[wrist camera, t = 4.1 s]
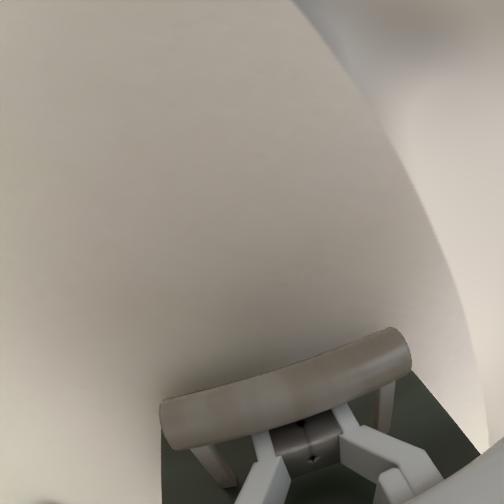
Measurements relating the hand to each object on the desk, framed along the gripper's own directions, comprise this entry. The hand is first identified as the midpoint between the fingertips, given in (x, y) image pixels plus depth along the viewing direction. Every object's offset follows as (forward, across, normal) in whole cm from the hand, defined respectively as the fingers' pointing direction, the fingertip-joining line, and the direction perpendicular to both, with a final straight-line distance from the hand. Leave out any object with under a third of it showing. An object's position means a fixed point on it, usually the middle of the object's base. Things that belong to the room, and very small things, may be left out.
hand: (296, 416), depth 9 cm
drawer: (+4, 0, +7) cm, 8 cm away
